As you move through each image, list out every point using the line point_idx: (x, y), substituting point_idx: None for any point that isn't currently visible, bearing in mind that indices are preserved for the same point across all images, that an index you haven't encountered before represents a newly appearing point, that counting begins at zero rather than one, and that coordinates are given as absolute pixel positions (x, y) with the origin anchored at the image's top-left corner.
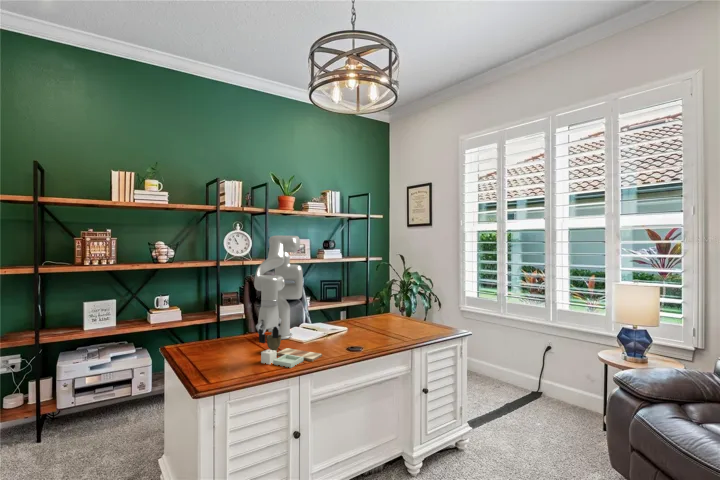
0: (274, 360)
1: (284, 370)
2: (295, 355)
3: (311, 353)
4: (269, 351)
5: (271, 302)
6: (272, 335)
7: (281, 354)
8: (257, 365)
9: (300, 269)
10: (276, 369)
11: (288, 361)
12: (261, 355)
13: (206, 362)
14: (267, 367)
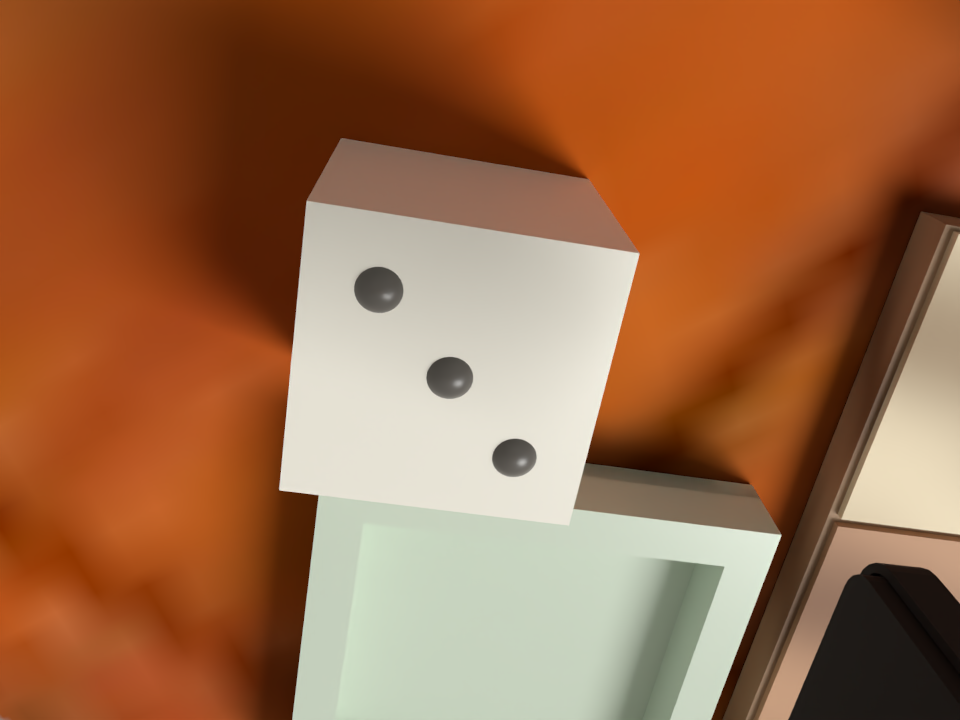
0: (318, 507)
1: (154, 708)
2: (810, 654)
3: None
4: (445, 398)
5: None
6: (904, 632)
7: (885, 362)
8: (151, 154)
9: None
10: (133, 590)
11: (514, 639)
12: (320, 187)
13: None
14: (146, 408)
